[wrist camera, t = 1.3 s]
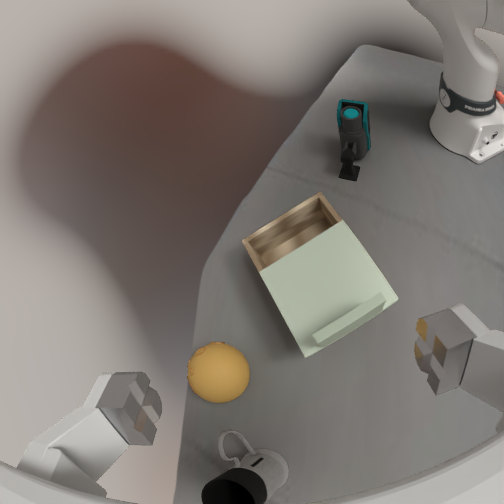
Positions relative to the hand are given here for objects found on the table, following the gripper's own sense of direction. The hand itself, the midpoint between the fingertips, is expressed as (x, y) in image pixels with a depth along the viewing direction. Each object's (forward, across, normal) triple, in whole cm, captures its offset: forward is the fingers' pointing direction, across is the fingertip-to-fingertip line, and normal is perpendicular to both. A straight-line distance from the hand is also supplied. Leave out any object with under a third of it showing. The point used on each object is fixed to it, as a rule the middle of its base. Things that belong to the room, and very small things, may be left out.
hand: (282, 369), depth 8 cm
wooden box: (+42, -5, +16) cm, 45 cm away
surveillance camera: (+54, -20, +2) cm, 57 cm away
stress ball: (+32, +12, +29) cm, 45 cm away
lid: (+30, -6, +15) cm, 34 cm away
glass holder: (+21, +9, +40) cm, 46 cm away
